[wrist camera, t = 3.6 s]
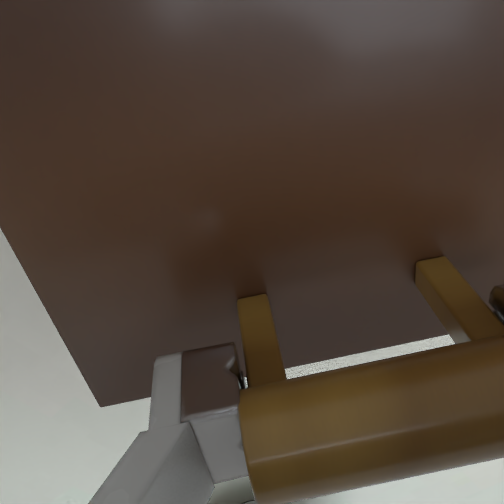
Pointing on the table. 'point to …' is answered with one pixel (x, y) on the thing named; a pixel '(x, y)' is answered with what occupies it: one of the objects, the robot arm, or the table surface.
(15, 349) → the table surface
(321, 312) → the lid
